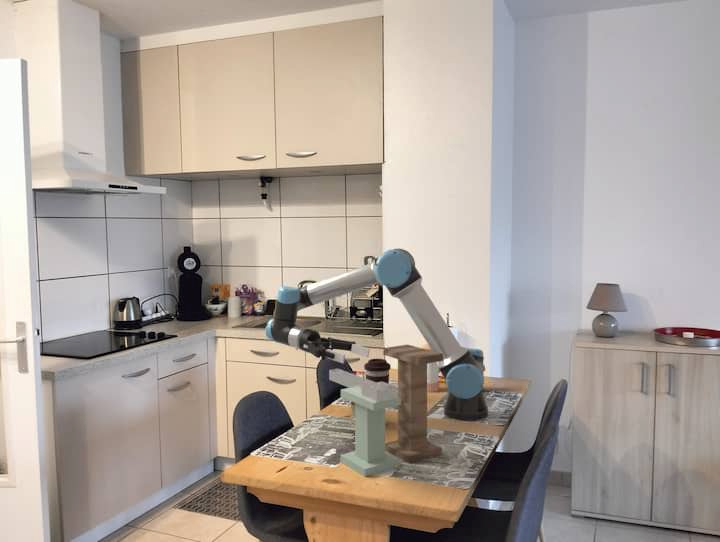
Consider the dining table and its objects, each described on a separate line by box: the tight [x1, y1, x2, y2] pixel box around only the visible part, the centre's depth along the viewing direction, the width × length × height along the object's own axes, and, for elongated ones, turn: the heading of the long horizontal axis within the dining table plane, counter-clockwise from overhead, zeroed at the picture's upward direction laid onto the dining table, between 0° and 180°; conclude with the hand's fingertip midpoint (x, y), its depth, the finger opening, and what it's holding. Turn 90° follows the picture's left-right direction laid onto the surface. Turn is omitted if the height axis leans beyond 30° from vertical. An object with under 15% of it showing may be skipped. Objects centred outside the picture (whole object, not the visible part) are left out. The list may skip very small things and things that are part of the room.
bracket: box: [328, 368, 398, 403], centre depth 171 cm, size 27×7×3 cm, turn 34°
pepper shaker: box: [421, 343, 440, 393], centre depth 242 cm, size 7×7×19 cm
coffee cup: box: [363, 358, 391, 384], centre depth 229 cm, size 10×10×15 cm
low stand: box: [340, 387, 402, 477], centre depth 168 cm, size 16×12×20 cm
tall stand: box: [382, 344, 443, 465], centre depth 176 cm, size 16×12×30 cm
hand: (356, 355), depth 191 cm, fingers open, 13 cm apart
